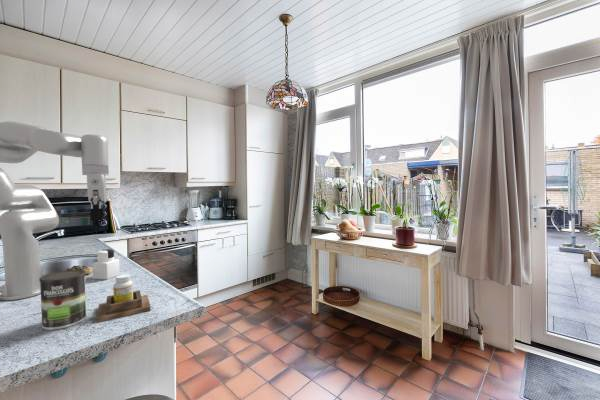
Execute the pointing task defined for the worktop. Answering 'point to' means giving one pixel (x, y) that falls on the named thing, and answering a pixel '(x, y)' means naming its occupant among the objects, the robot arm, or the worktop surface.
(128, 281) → the supplement bottle
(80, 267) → the bread roll
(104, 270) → the medicine bottle
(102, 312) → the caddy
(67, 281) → the coffee can
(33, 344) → the worktop surface
